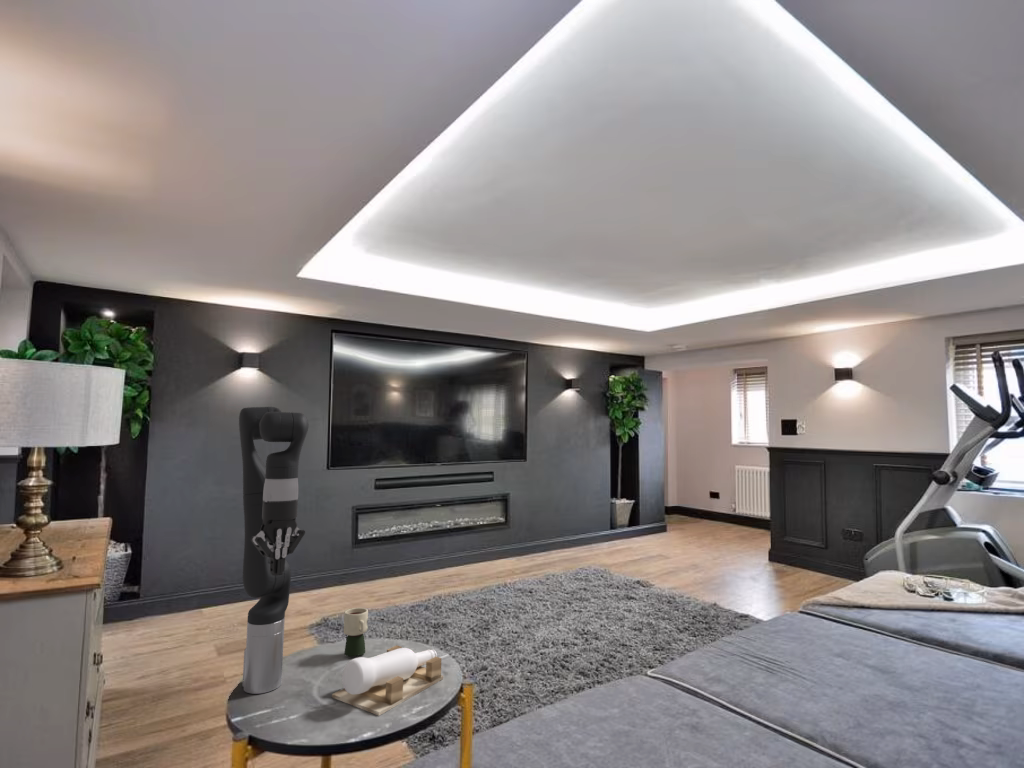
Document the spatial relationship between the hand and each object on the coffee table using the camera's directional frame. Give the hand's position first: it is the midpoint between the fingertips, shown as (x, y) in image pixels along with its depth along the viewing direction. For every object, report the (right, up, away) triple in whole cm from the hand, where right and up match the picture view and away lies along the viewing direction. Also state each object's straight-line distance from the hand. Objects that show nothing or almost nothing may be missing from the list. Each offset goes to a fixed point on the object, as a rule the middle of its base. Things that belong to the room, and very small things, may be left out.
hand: (276, 574), depth 122 cm
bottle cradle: (+21, -38, +20) cm, 48 cm away
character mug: (+5, -40, +42) cm, 58 cm away
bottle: (+14, -29, +10) cm, 34 cm away
